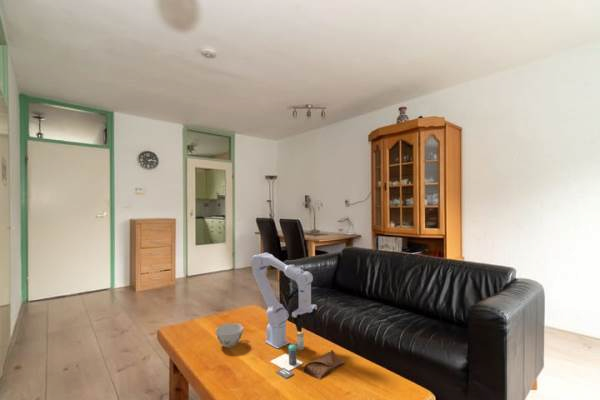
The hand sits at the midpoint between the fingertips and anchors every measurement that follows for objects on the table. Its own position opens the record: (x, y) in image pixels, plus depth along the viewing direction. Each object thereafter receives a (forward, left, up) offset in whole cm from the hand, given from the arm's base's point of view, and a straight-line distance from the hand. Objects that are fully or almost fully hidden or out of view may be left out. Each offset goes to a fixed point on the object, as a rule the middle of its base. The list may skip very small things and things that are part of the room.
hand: (305, 328), depth 136 cm
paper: (+2, -13, -10) cm, 16 cm away
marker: (+4, -12, -10) cm, 16 cm away
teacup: (-30, -20, -10) cm, 37 cm away
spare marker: (-3, 0, -10) cm, 10 cm away
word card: (+7, -19, -10) cm, 23 cm away
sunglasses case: (+16, -4, -11) cm, 19 cm away
